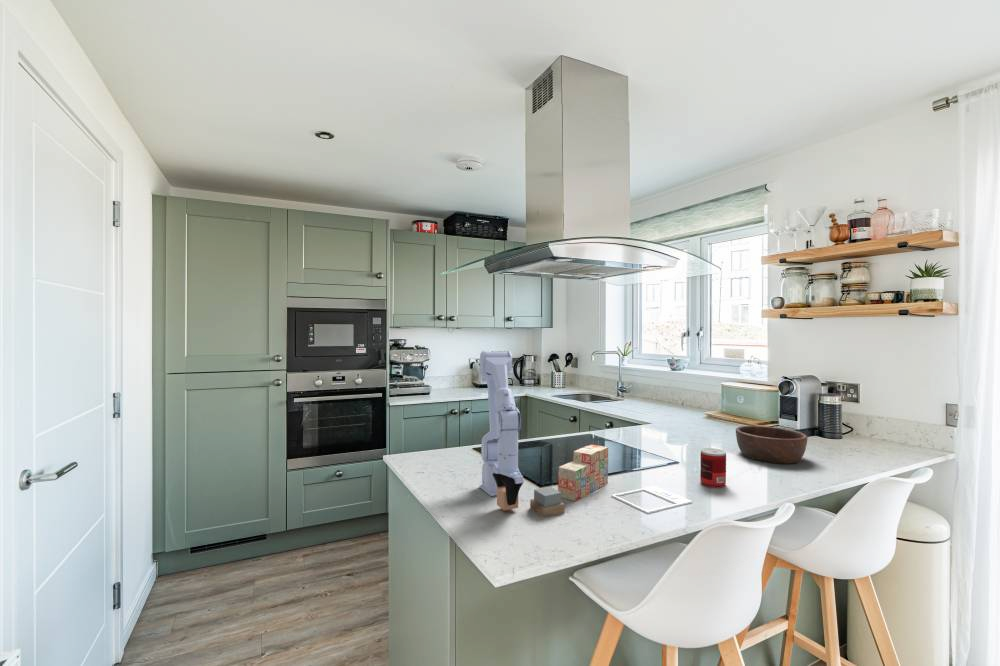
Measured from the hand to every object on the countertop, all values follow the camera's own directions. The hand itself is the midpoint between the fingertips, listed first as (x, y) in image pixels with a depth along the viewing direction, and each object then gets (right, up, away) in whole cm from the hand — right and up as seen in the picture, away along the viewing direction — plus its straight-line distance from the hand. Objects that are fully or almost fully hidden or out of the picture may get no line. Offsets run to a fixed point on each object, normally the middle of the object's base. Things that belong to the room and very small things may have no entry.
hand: (507, 501), depth 129 cm
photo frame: (+43, -3, +9) cm, 44 cm away
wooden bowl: (+107, -3, +56) cm, 121 cm away
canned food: (+69, -3, +23) cm, 73 cm away
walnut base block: (+11, -3, 0) cm, 12 cm away
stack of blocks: (+25, -3, +17) cm, 30 cm away
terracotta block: (0, -1, 0) cm, 1 cm away
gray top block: (+11, 0, 0) cm, 11 cm away
